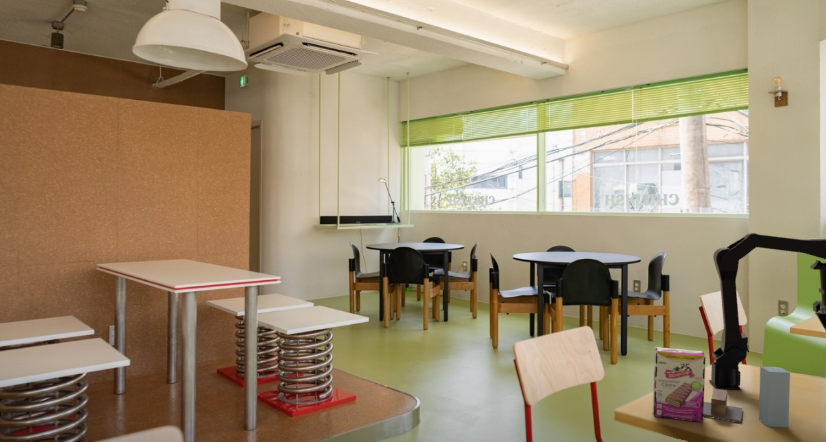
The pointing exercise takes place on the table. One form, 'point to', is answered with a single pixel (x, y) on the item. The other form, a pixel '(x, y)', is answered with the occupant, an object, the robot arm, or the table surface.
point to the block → (774, 396)
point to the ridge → (719, 402)
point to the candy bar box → (679, 384)
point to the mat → (730, 413)
